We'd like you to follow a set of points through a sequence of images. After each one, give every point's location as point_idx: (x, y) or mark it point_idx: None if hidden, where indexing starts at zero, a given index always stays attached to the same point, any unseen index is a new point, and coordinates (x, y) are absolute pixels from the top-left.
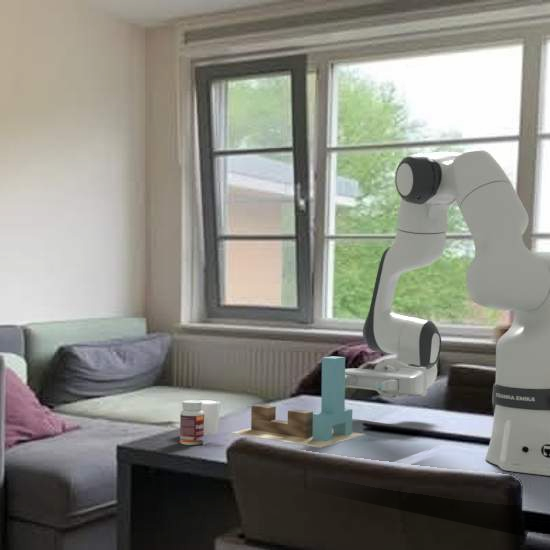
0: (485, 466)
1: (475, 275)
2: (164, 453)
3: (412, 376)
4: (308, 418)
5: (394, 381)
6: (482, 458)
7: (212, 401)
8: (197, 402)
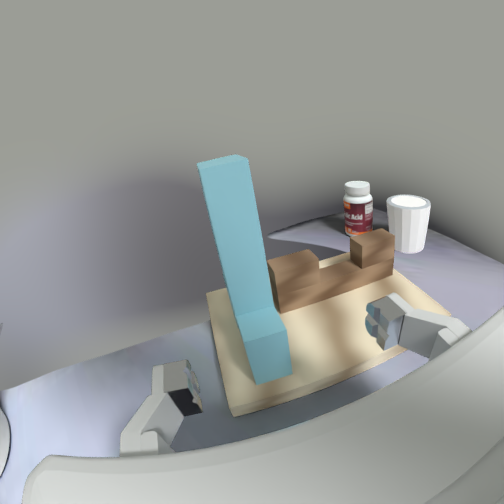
0: (12, 404)
1: None
2: (320, 217)
3: (36, 470)
4: (270, 274)
5: (129, 430)
6: (14, 441)
7: (414, 205)
8: (347, 185)
